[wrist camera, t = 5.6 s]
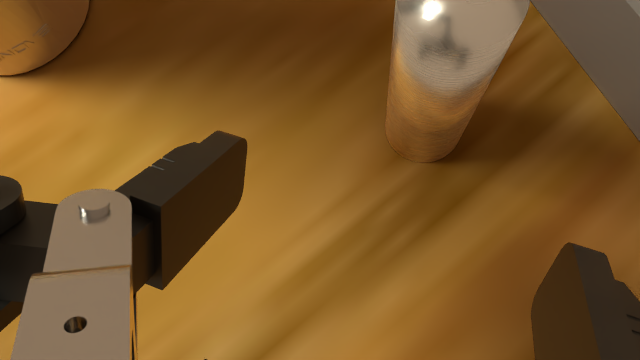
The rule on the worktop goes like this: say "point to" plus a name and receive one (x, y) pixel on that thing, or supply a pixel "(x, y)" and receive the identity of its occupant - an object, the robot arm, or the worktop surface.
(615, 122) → the worktop surface
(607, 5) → the socket block
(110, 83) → the worktop surface
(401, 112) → the steel peg
